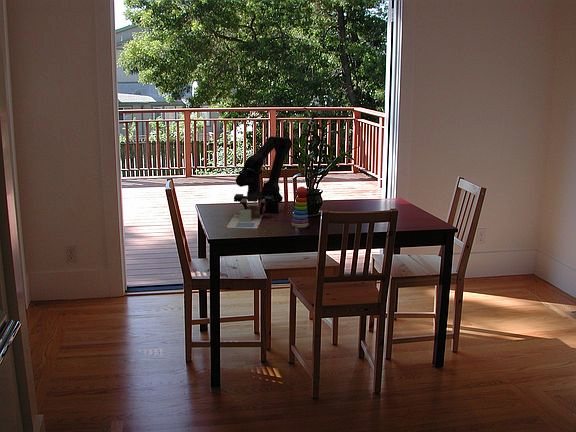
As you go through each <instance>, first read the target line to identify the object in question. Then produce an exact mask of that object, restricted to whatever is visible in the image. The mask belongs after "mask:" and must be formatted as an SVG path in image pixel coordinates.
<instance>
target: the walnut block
mask: <svg viewBox="0 0 576 432" xmlns="http://www.w3.org/2000/svg"><path fill="white" fill-rule="evenodd" d="M247 206H248V207H247V209H252V218H255V219H259V218H260V208H261V205H247Z"/></svg>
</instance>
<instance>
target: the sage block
mask: <svg viewBox="0 0 576 432" xmlns="http://www.w3.org/2000/svg"><path fill="white" fill-rule="evenodd" d="M239 215H240V222H251V220H252V209H244V208H241V209H240V210H239Z"/></svg>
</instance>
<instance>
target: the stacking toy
mask: <svg viewBox="0 0 576 432" xmlns="http://www.w3.org/2000/svg"><path fill="white" fill-rule="evenodd" d="M295 193H296V197H295V202H294V204H295V205H294V209H293V214H292V219H291V226H292V227H294V228H298V229H299V228H300V229H301V228H308V226H309V218H308V217H309V214H308V202H307V199H308V198H307V197H306V196H307V194H308V190H307V188H306V187H304V186H298V187H297V188H296V191H295Z"/></svg>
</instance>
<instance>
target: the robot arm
mask: <svg viewBox="0 0 576 432" xmlns="http://www.w3.org/2000/svg"><path fill="white" fill-rule="evenodd" d="M292 146H293V141H292V139H291V138H290V137H285V136H284V137H283V136H272V135H271V136H269V137H268V138H267V140H266V141H265V142H264V144H263V145H262V146H261V147H260V148H259V150H257V151H256V153H254V154H251V155H250V156H249V157H247V159H246V160H245V163H244V165H243V167H242V169H241V171H239V173H238V175H237V176H236V178H235V182H236V185H237V186H238V187H240V188H241V187H247V192H246V195H244V194H243V193H235V195H234V196H233V202H234V203H235V202H236V203H237V202H239V204H241V205H242V206H243V209H247V207H248V206H249V205H248V202H249V203H251V202H254V203H257V202H258V201H261V202H260V206H261V208H260V216H261V215H262V214H263V211H264V213H266V214H267V213H268V214H278V213H280V203H282V202H283V198H284V197H283V196H282V194H281V193H280V191H281V190H280V184H279V181H280V179H281V178H280V177H281V173H282V171H283V165H284V162H285V158H286V156H287V154H288V153H290V151H291V148H292ZM273 150H274V151H275V155H274V158H273V162H272V166H271V169H270V173H269V177H268V180H267V181H266V182H263V184H262V188H261V175H262V174H263V171H262V170H261V169H262V168H263V166H264V165H265V159H266V158H267V157H268V156H269V155H270V154H271V152H272V151H273ZM263 209H264V210H263Z"/></svg>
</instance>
